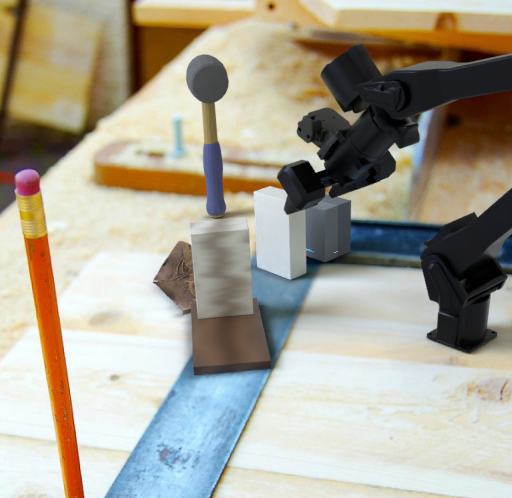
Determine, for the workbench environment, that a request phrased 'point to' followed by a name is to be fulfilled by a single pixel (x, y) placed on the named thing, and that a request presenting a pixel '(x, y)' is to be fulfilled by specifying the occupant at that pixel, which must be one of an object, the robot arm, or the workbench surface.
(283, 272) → the white rectangular block
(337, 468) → the workbench surface
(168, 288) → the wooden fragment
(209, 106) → the rubber mallet
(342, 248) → the grey box
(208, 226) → the marble panel stand
